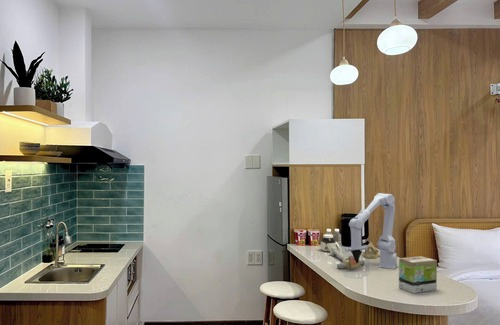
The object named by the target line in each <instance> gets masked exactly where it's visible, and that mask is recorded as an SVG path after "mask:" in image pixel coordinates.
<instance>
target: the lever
mask: <svg viewBox="0 0 500 325" xmlns="http://www.w3.org/2000/svg"><path fill="white" fill-rule="evenodd" d="M348 258H349V261H351V263H352V264H353V265H356V261H355V259H354V257H353V255H348Z"/></svg>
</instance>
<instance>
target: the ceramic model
mask: <svg viewBox="0 0 500 325" xmlns="http://www.w3.org/2000/svg"><path fill="white" fill-rule="evenodd" d="M366 246H367V248H368V250H364V252H363V251H362V253H361V256H362V257H363V258H364V259H377V258H378V257H379V258H380V251H379V249H377V248H376V247H375V245H374V244H373V242H372V241H369V243H368V244H367V245H366Z"/></svg>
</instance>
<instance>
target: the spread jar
mask: <svg viewBox="0 0 500 325" xmlns="http://www.w3.org/2000/svg"><path fill="white" fill-rule="evenodd" d="M332 247H337V250H339V251H340V252H341V247H340V244H339V243H338V242H337V241H336V239H335V238H334V235H333V234H326V233H325V234H323V237H322V238H321V240H320V249H321V252H322V251H323V252H324V253H327V254H328V253H329V254H330V250H331V248H332Z"/></svg>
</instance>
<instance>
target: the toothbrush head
mask: <svg viewBox="0 0 500 325" xmlns="http://www.w3.org/2000/svg"><path fill="white" fill-rule="evenodd" d="M329 254H330V256H331V257H334V258H335V257H338V258H339V259H340V260H341V261H344V260H348V259H349V256H347V255H346V254H344V253H342V252H341V250H340V251H339V250H337V247H332V248H331V250H330V253H329Z"/></svg>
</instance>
